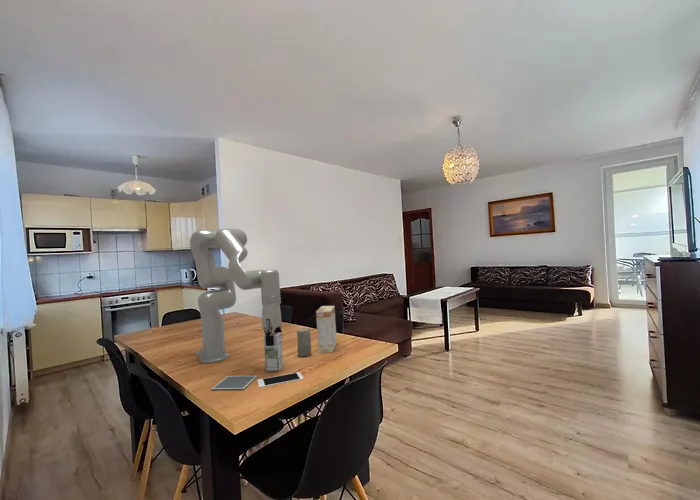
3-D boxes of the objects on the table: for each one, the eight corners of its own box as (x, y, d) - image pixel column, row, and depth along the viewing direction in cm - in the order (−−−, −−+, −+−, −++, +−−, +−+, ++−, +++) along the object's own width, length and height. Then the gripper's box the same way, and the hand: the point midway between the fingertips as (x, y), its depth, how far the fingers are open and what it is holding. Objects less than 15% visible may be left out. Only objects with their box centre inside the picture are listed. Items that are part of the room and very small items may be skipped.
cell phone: (257, 381, 122) (257, 379, 122) (299, 373, 128) (299, 371, 128) (259, 388, 115) (259, 387, 115) (304, 380, 120) (304, 378, 120)
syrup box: (283, 366, 135) (281, 331, 135) (279, 371, 129) (277, 335, 130) (270, 367, 136) (268, 332, 136) (265, 372, 130) (263, 335, 130)
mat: (211, 390, 114) (210, 388, 114) (227, 377, 126) (227, 376, 126) (243, 390, 113) (243, 388, 113) (257, 376, 125) (257, 375, 125)
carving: (298, 358, 145) (296, 331, 145) (297, 353, 153) (296, 327, 153) (312, 356, 146) (310, 330, 147) (311, 352, 154) (309, 326, 154)
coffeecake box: (323, 344, 166) (321, 306, 167) (337, 343, 166) (335, 305, 166) (317, 353, 151) (315, 311, 152) (332, 352, 151) (330, 310, 151)
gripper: (269, 298, 142) (272, 337, 141) (253, 303, 125) (257, 349, 124) (286, 297, 141) (289, 336, 141) (272, 302, 124) (276, 348, 123)
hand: (274, 342), depth 132 cm, fingers open, 9 cm apart
